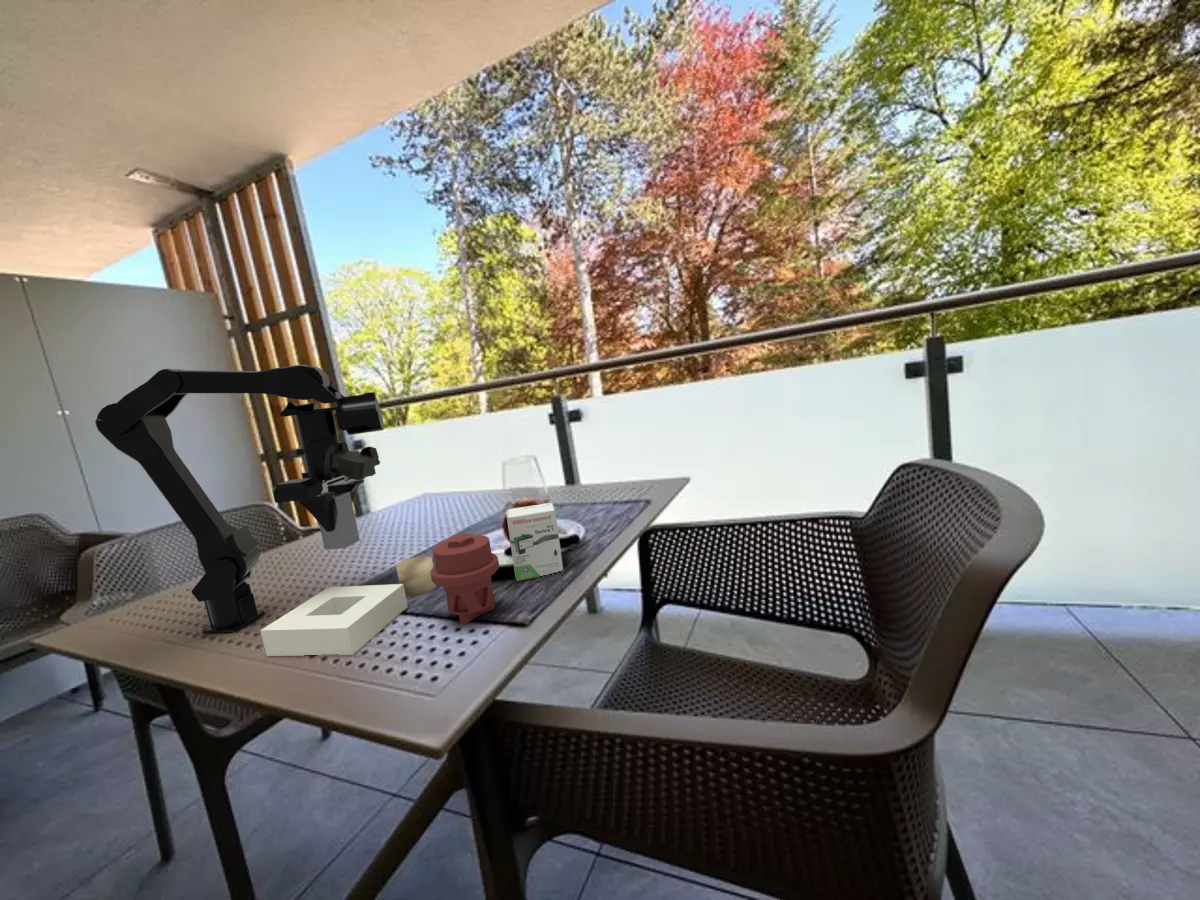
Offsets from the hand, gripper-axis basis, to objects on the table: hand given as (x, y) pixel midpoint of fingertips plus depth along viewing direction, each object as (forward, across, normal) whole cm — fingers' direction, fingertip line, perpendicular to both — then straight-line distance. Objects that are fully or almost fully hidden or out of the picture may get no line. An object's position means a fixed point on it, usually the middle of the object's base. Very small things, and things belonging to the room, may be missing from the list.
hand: (338, 527), depth 89 cm
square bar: (+3, 0, 0) cm, 3 cm away
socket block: (+13, -12, -6) cm, 19 cm away
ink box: (+13, +6, -33) cm, 36 cm away
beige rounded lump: (+13, +2, -12) cm, 18 cm away
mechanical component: (+13, -8, -26) cm, 31 cm away
